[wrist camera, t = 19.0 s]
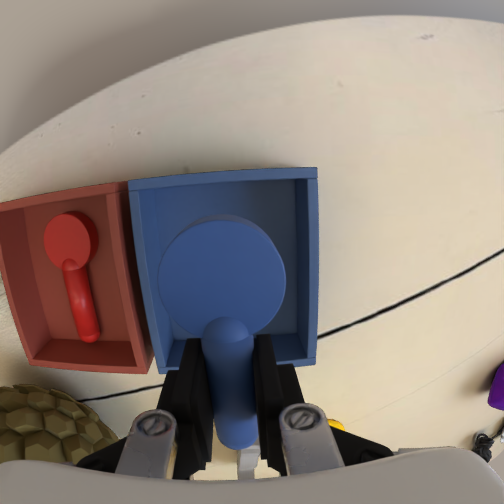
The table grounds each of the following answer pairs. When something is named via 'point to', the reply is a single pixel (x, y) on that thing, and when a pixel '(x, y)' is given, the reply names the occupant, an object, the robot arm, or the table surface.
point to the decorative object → (48, 426)
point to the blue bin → (248, 207)
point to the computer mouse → (486, 445)
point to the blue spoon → (224, 309)
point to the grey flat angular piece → (248, 461)
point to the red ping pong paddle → (75, 266)
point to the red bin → (54, 290)
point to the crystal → (497, 390)
